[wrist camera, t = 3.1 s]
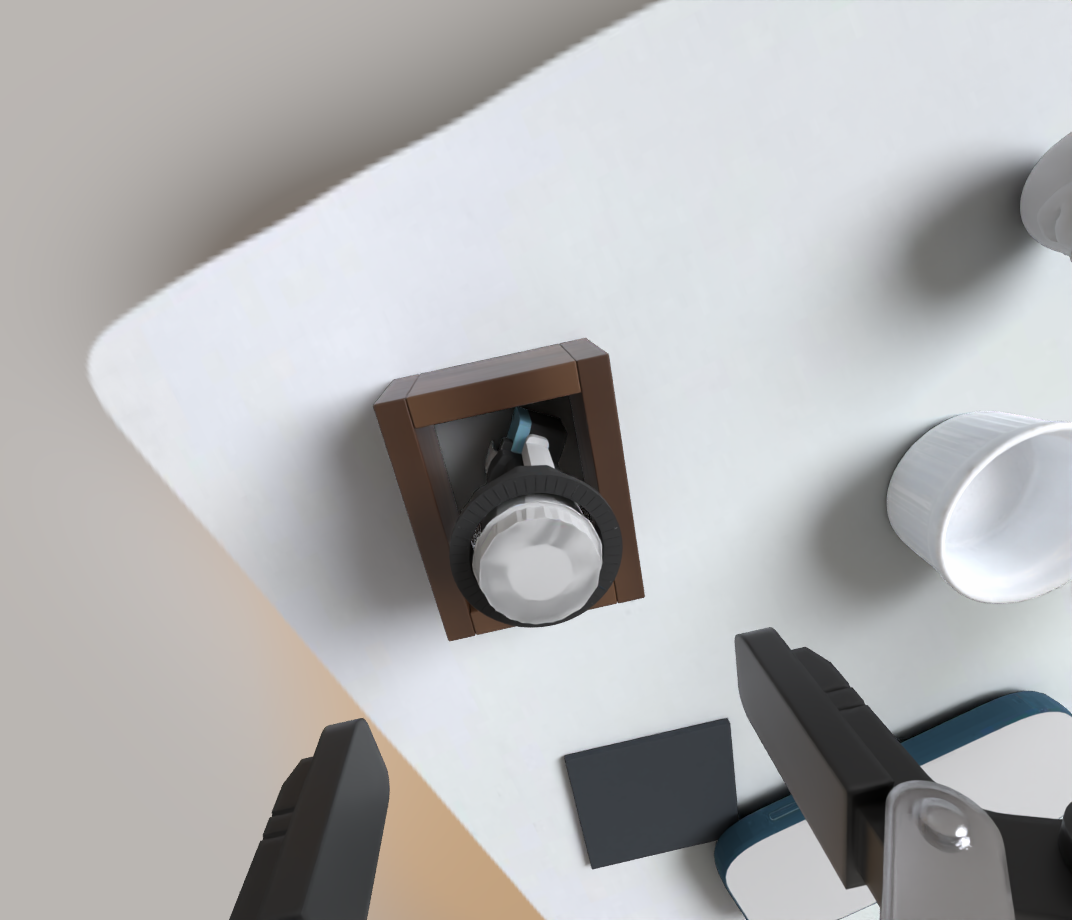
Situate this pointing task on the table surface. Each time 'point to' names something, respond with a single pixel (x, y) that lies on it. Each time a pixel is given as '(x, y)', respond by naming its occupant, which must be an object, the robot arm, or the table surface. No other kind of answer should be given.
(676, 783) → the mat
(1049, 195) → the frog figurine
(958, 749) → the external hard drive
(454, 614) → the holder
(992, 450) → the ramekin
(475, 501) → the push button
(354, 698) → the table surface
